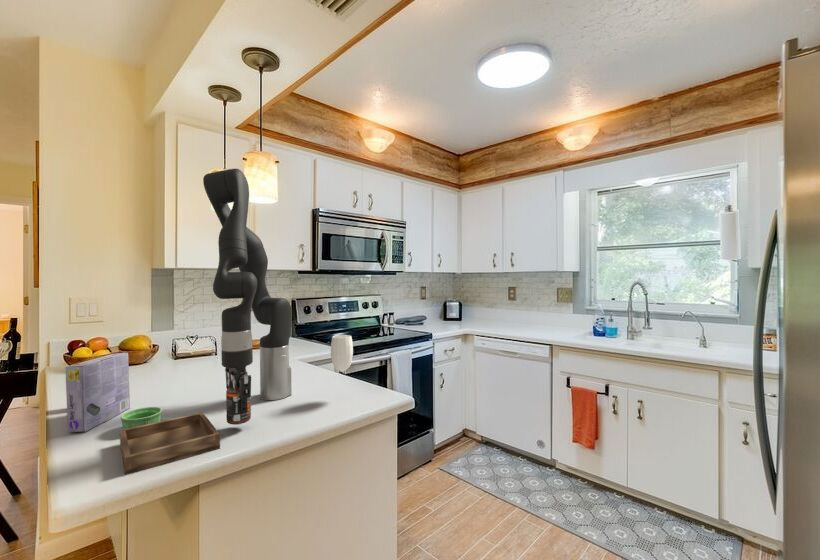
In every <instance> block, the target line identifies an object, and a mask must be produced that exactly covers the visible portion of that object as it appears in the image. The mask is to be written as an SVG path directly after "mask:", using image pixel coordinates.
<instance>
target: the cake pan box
mask: <svg viewBox="0 0 820 560" xmlns="http://www.w3.org/2000/svg"><path fill="white" fill-rule="evenodd" d="M129 367H130V366H129V352H119V353H118V352H117V353H111V354H108V355H105V356H101V357H97V358H93V359H89V360H85V361H82V362H79V363H78V362H77V363H75V364H71V365H67V366H65V369H64V370H65V387H66V388H65V391H66V392H65V394H66V419H67V420H66V421H67V433H87V432H89V431H90V430H91V429H94V428H95V427H97V426H99V425H101V424H103V423H106V422H107V421H109V420H112V419H113V418H114V419H115V417H116V416H118V415H120V414H122V413H125V412H126V411H128V410H130V409H131V408H130V406H131V405H130V404H131V401H130V398H131V395H130V394H131V393H130V371H129V370H130V369H129Z"/></svg>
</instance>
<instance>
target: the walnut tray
mask: <svg viewBox="0 0 820 560" xmlns="http://www.w3.org/2000/svg"><path fill="white" fill-rule="evenodd" d="M119 443H120V444H119V446H120V450H121V456H122V457H121V458H122V464H123V468H124V469H123V470H124V474H125V476H126V475H129V474H133V473H137V472H140V471H143V470H144V471H145V470H147V469H151V468H152V469H153V468H154V467H159V466H161V465H166V464H170V463H173V462H176V461H180V460H183V459H188V458H191V457H194V456H198V455H201V454H204V453H208V452H213V451H216V450H220V449H221V433H220V432H219V431H218V430H217V428H216V427H215V425H213V423H212V422H211V421H210V419H209V418H208V416H206V415H205V414H204V412H198V413H194V414H189V415H184V416H180V417H179V416H178V417H174V418H170V419H165V420H162V421H161V420H160V422H156V423H151V424H146V425H142V426H137V427H132V428H128V429H123V428H122V429H120V430H119Z"/></svg>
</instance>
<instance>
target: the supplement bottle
mask: <svg viewBox="0 0 820 560" xmlns="http://www.w3.org/2000/svg"><path fill="white" fill-rule="evenodd" d="M237 387H240V386H237ZM225 391H226V392H225V394H226V396H225V398H226V399H225V400H226V401H225V403H226V404H225V405H226V408H225V409H226V423H228V424H229V425H233V426H234V425H235V426H237V425H242V424H245V423H247V422H249V421H250V420H251V417H252V405H251V404H252V399H251V397H252V396H251V397H249V398H247V412H246V413H243V414H239V413H238V402H237V400H238V399H237V393H236V392H235V391H234V388H233V382H232V381H231V380H230V387H229V388H228V389H227V388H226V390H225ZM243 394H245V391H243Z"/></svg>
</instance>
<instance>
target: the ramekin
mask: <svg viewBox="0 0 820 560" xmlns="http://www.w3.org/2000/svg"><path fill="white" fill-rule="evenodd" d="M162 412H163V408H161V407H157V406H148V407H141V408H135V409H132V410H129V411H127V412H126V411H125V412H123V414H121V416H120V420H121V423H122V430H123V429H128V428H132V427H137V426H142V425H146V424H151V423H156V422H160V421H161V416H162Z"/></svg>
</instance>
